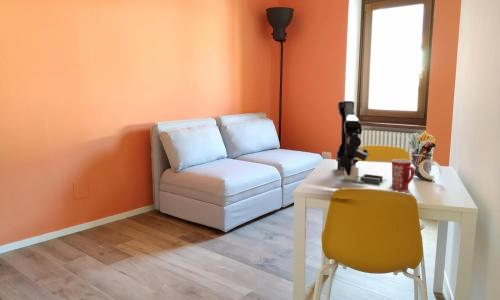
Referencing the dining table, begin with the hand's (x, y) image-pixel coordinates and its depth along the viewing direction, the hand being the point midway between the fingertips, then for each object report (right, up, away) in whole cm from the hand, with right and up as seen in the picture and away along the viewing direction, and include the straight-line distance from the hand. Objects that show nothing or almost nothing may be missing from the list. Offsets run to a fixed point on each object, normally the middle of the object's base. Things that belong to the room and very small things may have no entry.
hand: (350, 174), depth 209 cm
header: (+9, -3, -5) cm, 11 cm away
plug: (0, -2, 0) cm, 2 cm away
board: (+6, -4, -3) cm, 7 cm away
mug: (+22, -6, -13) cm, 26 cm away
